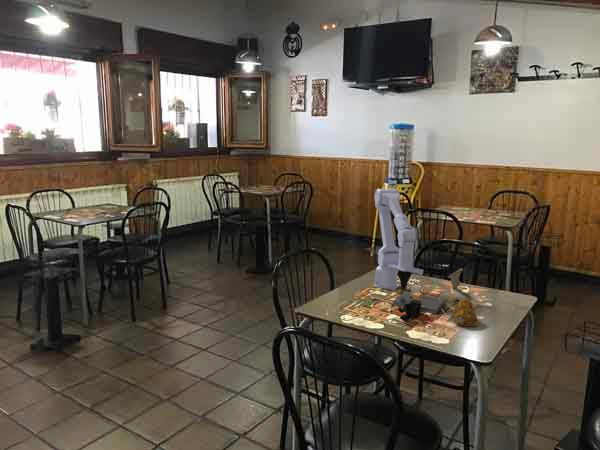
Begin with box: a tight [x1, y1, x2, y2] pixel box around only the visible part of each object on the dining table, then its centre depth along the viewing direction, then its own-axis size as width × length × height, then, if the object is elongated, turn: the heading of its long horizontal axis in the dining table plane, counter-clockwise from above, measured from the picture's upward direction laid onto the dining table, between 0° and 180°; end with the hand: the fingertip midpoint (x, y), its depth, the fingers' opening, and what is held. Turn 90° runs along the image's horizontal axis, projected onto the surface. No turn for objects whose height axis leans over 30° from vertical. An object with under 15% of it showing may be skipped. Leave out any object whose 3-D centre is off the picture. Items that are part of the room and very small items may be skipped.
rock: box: [452, 299, 479, 327], centre depth 175 cm, size 11×8×10 cm
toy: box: [397, 300, 422, 322], centre depth 178 cm, size 15×5×7 cm, turn 146°
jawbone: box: [448, 268, 473, 302], centre depth 204 cm, size 14×8×15 cm
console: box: [392, 291, 446, 315], centre depth 193 cm, size 17×15×2 cm
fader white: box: [410, 285, 421, 296], centre depth 197 cm, size 2×4×4 cm, turn 150°
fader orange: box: [412, 292, 423, 301], centre depth 189 cm, size 2×4×4 cm, turn 150°
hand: (403, 288), depth 200 cm, fingers closed
